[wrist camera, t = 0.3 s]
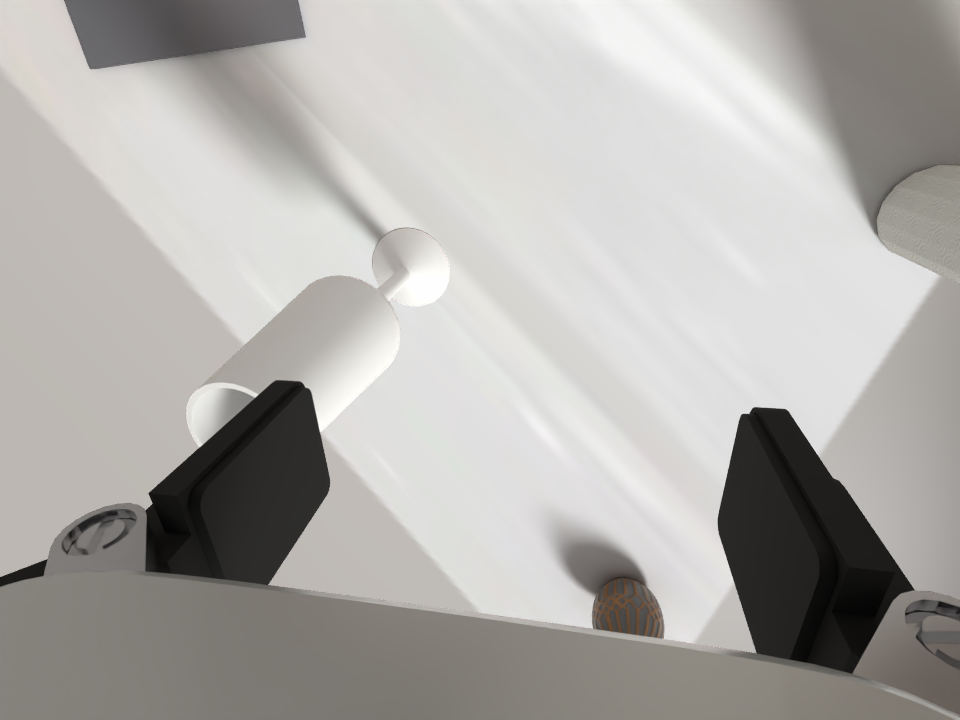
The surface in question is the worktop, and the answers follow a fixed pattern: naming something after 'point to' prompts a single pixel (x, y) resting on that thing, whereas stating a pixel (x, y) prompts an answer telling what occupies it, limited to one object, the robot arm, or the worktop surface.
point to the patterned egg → (627, 609)
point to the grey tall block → (925, 220)
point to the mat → (177, 27)
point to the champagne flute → (328, 336)
